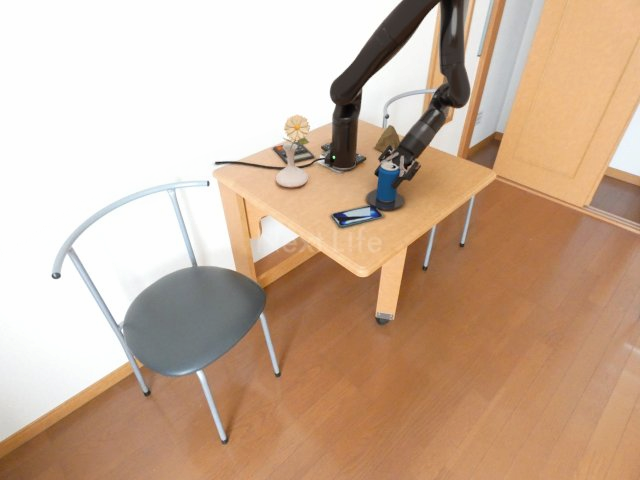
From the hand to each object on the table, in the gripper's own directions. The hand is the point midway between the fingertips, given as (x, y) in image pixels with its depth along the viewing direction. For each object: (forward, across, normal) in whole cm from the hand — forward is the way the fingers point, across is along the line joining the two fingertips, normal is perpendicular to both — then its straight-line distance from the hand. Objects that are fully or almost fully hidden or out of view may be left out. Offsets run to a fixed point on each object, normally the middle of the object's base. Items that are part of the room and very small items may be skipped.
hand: (384, 181), depth 118 cm
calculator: (+12, -46, -1) cm, 48 cm away
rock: (-12, -28, +23) cm, 38 cm away
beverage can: (+4, 0, +6) cm, 7 cm away
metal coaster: (+5, 0, +6) cm, 8 cm away
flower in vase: (+19, -26, -8) cm, 33 cm away
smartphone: (+14, +2, -2) cm, 14 cm away
